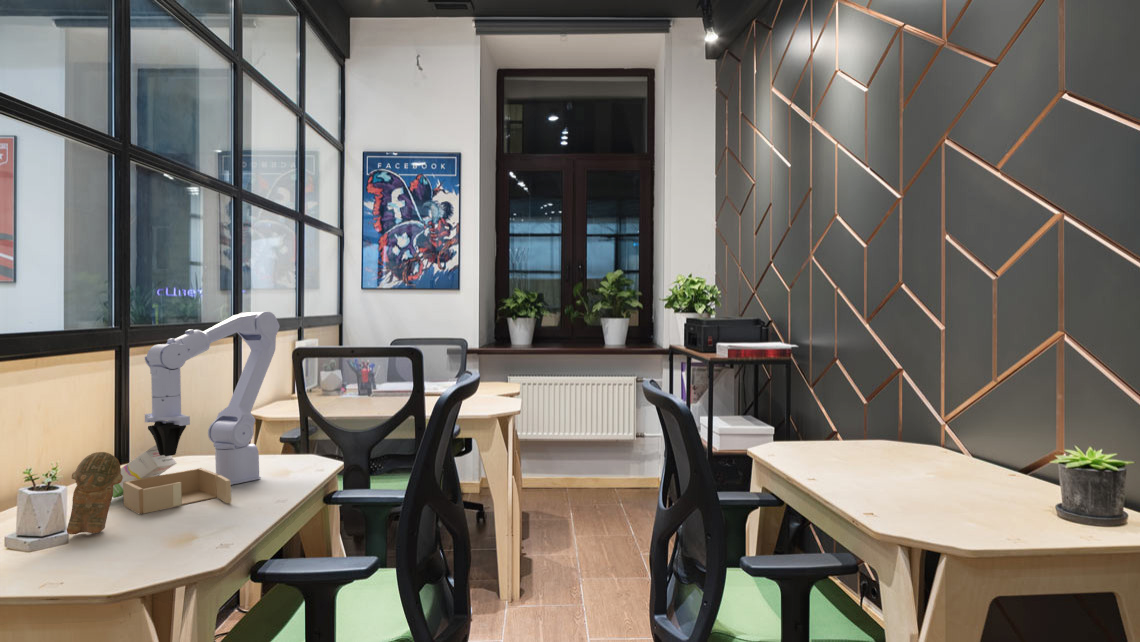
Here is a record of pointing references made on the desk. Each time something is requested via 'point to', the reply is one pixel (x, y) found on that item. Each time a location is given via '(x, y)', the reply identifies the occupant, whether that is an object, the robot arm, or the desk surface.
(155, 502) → the flap
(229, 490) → the flap
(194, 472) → the carton
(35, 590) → the desk surface
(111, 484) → the figurine
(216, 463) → the robot arm
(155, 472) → the ink box
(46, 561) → the desk surface
